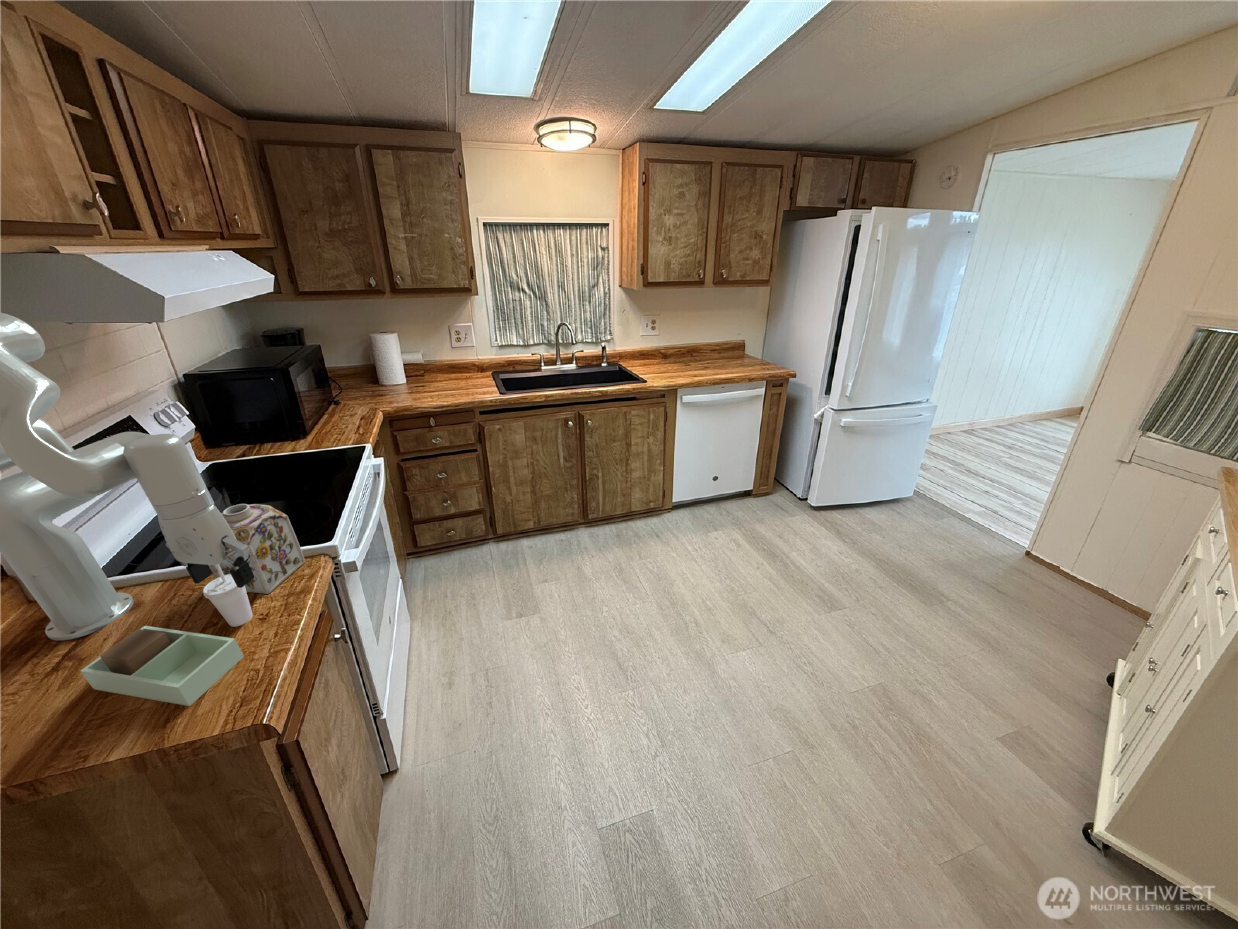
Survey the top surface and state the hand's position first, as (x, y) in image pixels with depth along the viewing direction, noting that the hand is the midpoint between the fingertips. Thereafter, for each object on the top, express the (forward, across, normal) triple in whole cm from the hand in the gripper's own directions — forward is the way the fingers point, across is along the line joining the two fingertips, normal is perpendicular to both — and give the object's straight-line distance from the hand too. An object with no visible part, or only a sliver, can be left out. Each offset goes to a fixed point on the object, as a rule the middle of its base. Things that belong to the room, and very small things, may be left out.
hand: (225, 580), depth 91 cm
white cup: (+11, -1, 0) cm, 11 cm away
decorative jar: (+10, -8, +13) cm, 18 cm away
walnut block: (+10, -7, -13) cm, 18 cm away
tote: (+10, -2, -13) cm, 17 cm away
